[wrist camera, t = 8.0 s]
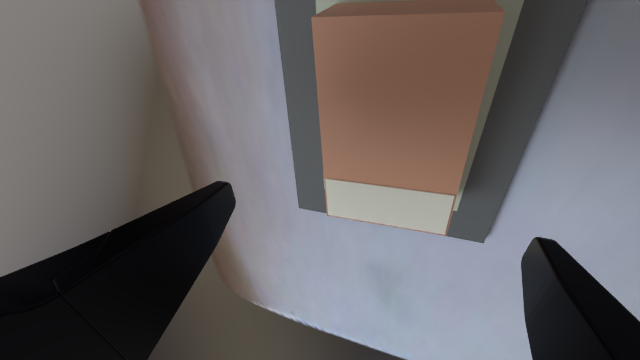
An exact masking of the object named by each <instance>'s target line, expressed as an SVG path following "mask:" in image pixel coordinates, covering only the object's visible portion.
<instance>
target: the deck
mask: <svg viewBox="0 0 640 360" xmlns="http://www.w3.org/2000/svg"><path fill="white" fill-rule="evenodd" d="M504 14H505V11H504V10H503V9H502V8H501V7H500V6H499V5H498V4H497V2H496V1H495V0H411V1H387V2H363V3H339V4H334V5H332V6H331V7H329V8H327V9H325V10H323V11H322V12H320V13H318V14H316V15H314V16H313V17H311V21H312V33H313V46H314V58H315V71H316V83H317V96H318V108H319V121H320V133H321V146H322V158H323V171H324V183H325V196H326V208H327V216H333V217H339V218H345V219H351V220H357V221H363V222H368V223H374V224H380V225H386V226H392V227H398V228H404V229H410V230H415V231H421V232H427V233H433V234H439V235H445V236H446V235H447V231H448V228H449V224H450V220H451V216H452V212H453V209H454V205H455V201H456V197H457V193H458V190H459V186H460V182H461V178H462V174H463V170H464V167H465V163H466V159H467V155H468V151H469V148H470V144H471V140H472V136H473V132H474V129H475V125H476V121H477V117H478V113H479V109H480V106H481V102H482V98H483V94H484V90H485V87H486V83H487V79H488V75H489V71H490V68H491V64H492V60H493V56H494V52H495V48H496V45H497V41H498V37H499V33H500V29H501V26H502V22H503V18H504Z"/></svg>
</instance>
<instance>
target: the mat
mask: <svg viewBox="0 0 640 360" xmlns="http://www.w3.org/2000/svg"><path fill="white" fill-rule="evenodd" d="M387 1H411V0H275V8H276V17H277V25H278V34H279V42H280V51H281V59H282V68H283V76H284V85H285V93H286V102H287V110H288V119H289V127H290V136H291V144H292V153H293V161H294V170H295V178H296V187H297V195H298V204H299V208H302V209H307V210H312V211H318V212H323V213H327V208H326V196H325V183H324V171H323V158H322V146H321V133H320V121H319V108H318V96H317V83H316V71H315V58H314V46H313V33H312V21H311V17H313V16H314V15H316V14H318V13H320V12H322V11H323V10H325V9H327V8H329V7H331V6H332V5H334V4H339V3H363V2H387ZM495 1H496V2H497V4H498V5H499V6H500V7H501V8H502V9H503V10H504V11H505V14H504V18H503V22H502V26H501V29H500V33H499V37H498V41H497V45H496V48H495V52H494V56H493V60H492V64H491V68H490V71H489V75H488V79H487V83H486V87H485V90H484V94H483V98H482V102H481V106H480V109H479V113H478V117H477V121H476V125H475V129H474V132H473V136H472V140H471V144H470V148H469V151H468V155H467V159H466V163H465V167H464V170H463V174H462V178H461V182H460V186H459V190H458V193H457V197H456V201H455V205H454V209H453V212H452V216H451V220H450V224H449V228H448V231H447V235H446V236H449V237H454V238H459V239H465V240H470V241H475V242H480V243H484V241H485V239H486V237H487V234H488V232H489V230H490V227H491V225H492V223H493V220H494V218H495V216H496V213H497V211H498V209H499V206H500V204H501V202H502V200H503V197H504V195H505V193H506V190H507V188H508V186H509V183H510V181H511V179H512V176H513V174H514V172H515V169H516V167H517V165H518V162H519V160H520V158H521V155H522V153H523V151H524V149H525V146H526V144H527V142H528V139H529V137H530V135H531V132H532V130H533V128H534V125H535V123H536V121H537V118H538V116H539V114H540V111H541V109H542V107H543V104H544V102H545V100H546V97H547V95H548V93H549V91H550V88H551V86H552V84H553V81H554V79H555V77H556V74H557V72H558V70H559V67H560V65H561V63H562V60H563V58H564V56H565V53H566V51H567V49H568V46H569V44H570V42H571V40H572V37H573V35H574V33H575V30H576V28H577V26H578V23H579V21H580V19H581V16H582V14H583V12H584V9H585V7H586V5H587V2H588V0H495ZM438 235H439V234H438ZM444 236H445V235H444Z"/></svg>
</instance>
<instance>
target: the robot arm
mask: <svg viewBox="0 0 640 360" xmlns="http://www.w3.org/2000/svg"><path fill="white" fill-rule="evenodd" d="M235 205H236V200H235V197H234V193H233V190H232V186H231V184H230V183H228V182H223V181H216V182H214V183H212V184H210V185H208V186H206V187H204V188H201V189H199V190H197V191H195V192H193V193H191V194H188V195H186V196H184V197H182V198H180V199H178V200H176V201H173V202H171V203H169V204H167V205H165V206H163V207H161V208H158V209H156V210H154V211H152V212H150V213H148V214H146V215H144V216H141V217H139V218H137V219H135V220H133V221H130V222H128V223H126V224H124V225H122V226H120V227H118V228H115V229H113V230H112V231H111V232H107V233H105V234H102V235H100V236H98V237H96V238H94V239H92V240H90V241H87V242H85V243H83V244H80V245H78V246H76V247H74V248H71V249H69V250H66V251H64V252H62V253H59V254H57V255H54V256H52V257H49V258H47V259H45V260H42V261H39V262H37V263H34V264H32V265H30V266H27V267H25V268H22V269H20V270H17V271H15V272H12V273H10V274H7V275H5V276H2V277H0V360H147V359H148V358H149V356H150V354H151V353H152V351H153V350H154V348H155V346H156V344H157V343H158V341H159V340H160V338H161V336H162V335H163V333H164V331H165V330H166V328H167V326H168V325H169V323H170V322H171V320H172V318H173V317H174V315H175V313H176V312H177V310H178V308H179V307H180V305H181V303H182V302H183V300H184V299H185V297H186V295H187V294H188V292H189V290H190V289H191V287H192V285H193V284H194V282H195V280H196V279H197V277H198V275H199V274H200V272H201V271H202V269H203V267H204V265H205V264H206V262H207V261H208V259H209V257H210V256H211V254H212V253H213V251H214V249H215V247H216V246H217V244H218V242H219V240H220V238H221V236H222V234H223V232H224V229H225V227H226V225H227V223H228V221H229V219H230V217H231V215H232V212H233V210H234V208H235ZM521 270H522V285H523V300H524V314H525V322H526V328H527V333H528V338H529V344H530V349H531V354H532V359H533V360H640V321H639V320H638V319H637V318H636V317H634V316H633V315H632V314H631V313H630V312H629V311H628V310H627V309H626V308H625V307H624V306H623V305H622V304H621V303H620V302H619V301H618V300H617V299H616V298H615V297H614V296H613V295H611V294H610V293H609V292H608V291H607V290H606V289H605V288H604V287H603V286H602V285H601V284H600V283H599V282H598V281H597V280H596V279H595V278H594V277H593V276H592V275H591V274H590V273H588V272H587V271H586V270H585V269H584V268H583V267H582V266H581V265H580V264H579V263H578V262H577V261H576V260H575V259H574V258H573V257H572V256H571V255H570V254H569V253H568V252H567V251H565V250H564V249H563V248H562V247H561V246H560V245H559V244H558V243H557V242H556V241H554V240H552V239H547V238H541V237H535V238H534V239H533V240H532V241H531V243H530V245H529V246H528V248H527V250H526V252H525V253H524V255H523V257H522V261H521Z"/></svg>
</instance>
